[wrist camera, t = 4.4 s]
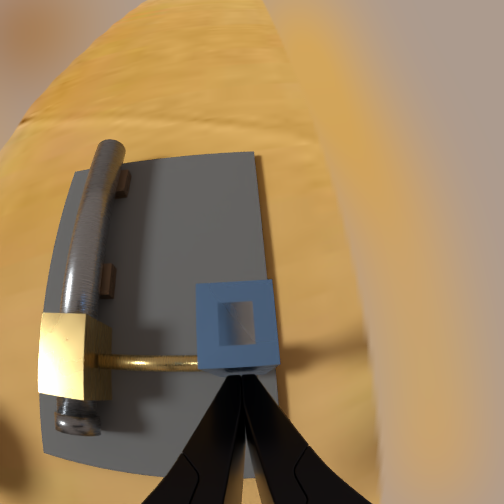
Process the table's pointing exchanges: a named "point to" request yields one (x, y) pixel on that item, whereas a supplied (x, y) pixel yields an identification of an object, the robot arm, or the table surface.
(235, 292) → the valve lever
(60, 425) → the valve pipe
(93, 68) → the table surface
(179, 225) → the gray mounting plate
